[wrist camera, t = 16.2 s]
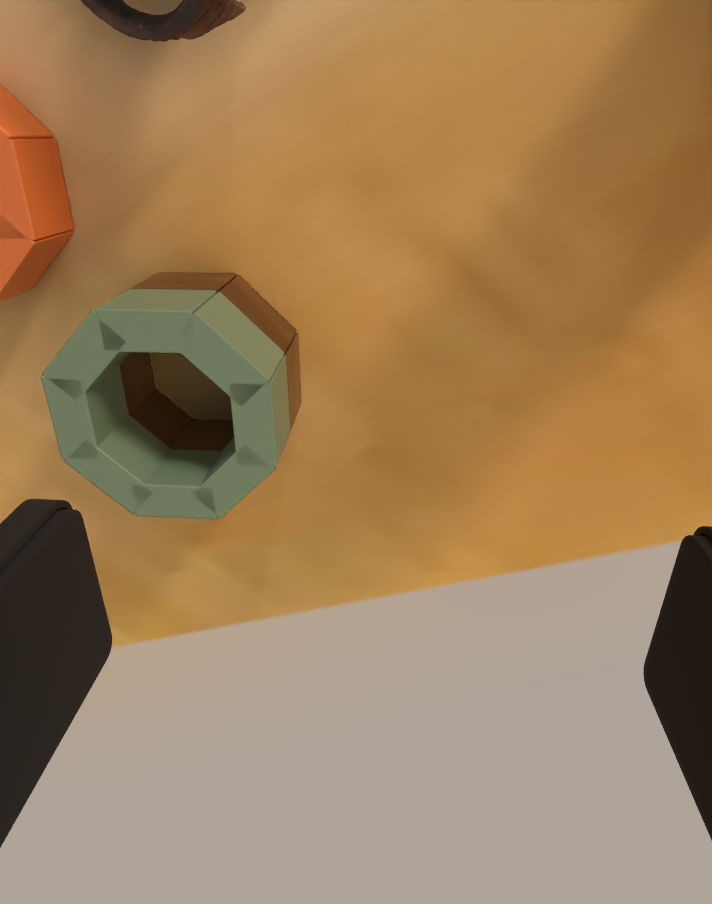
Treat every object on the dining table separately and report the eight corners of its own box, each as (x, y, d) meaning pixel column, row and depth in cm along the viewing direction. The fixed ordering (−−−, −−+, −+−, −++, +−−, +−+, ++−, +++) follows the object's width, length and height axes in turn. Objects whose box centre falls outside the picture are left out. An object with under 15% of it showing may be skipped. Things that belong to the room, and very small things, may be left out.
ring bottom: (101, 271, 34) (66, 287, 31) (295, 274, 34) (282, 290, 30) (134, 445, 39) (107, 476, 36) (303, 451, 39) (293, 483, 35)
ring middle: (66, 287, 31) (22, 307, 27) (282, 290, 30) (266, 312, 26) (107, 476, 36) (75, 513, 32) (293, 483, 35) (280, 522, 32)
